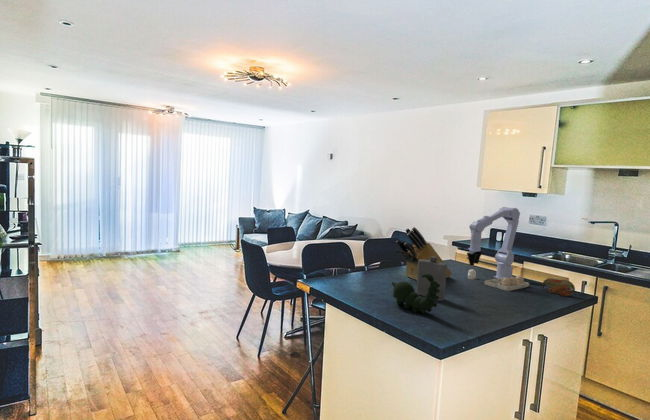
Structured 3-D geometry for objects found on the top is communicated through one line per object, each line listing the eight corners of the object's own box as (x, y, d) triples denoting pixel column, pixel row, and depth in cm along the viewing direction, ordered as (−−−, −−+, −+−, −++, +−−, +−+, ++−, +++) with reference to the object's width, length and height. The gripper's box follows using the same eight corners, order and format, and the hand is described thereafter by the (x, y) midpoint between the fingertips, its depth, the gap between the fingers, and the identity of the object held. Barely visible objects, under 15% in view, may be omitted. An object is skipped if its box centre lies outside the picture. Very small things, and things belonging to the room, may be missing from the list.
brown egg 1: (504, 286, 217) (505, 276, 217) (511, 288, 214) (512, 278, 213) (499, 287, 215) (500, 277, 214) (507, 289, 211) (508, 279, 211)
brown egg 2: (517, 284, 225) (518, 274, 225) (524, 286, 221) (525, 276, 221) (513, 284, 222) (513, 275, 222) (520, 286, 219) (521, 276, 218)
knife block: (392, 277, 228) (395, 225, 226) (439, 273, 243) (442, 225, 241) (403, 282, 218) (407, 227, 216) (451, 278, 233) (455, 227, 230)
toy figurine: (439, 318, 166) (396, 297, 186) (446, 276, 164) (401, 259, 183) (425, 322, 161) (382, 300, 180) (432, 279, 158) (387, 261, 177)
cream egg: (470, 277, 238) (471, 268, 238) (476, 279, 234) (477, 269, 234) (466, 278, 236) (466, 268, 235) (472, 280, 232) (473, 270, 232)
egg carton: (504, 281, 233) (505, 277, 233) (528, 287, 221) (529, 282, 221) (484, 285, 221) (484, 280, 221) (508, 292, 209) (508, 287, 209)
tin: (541, 292, 212) (543, 277, 211) (541, 291, 215) (542, 276, 214) (574, 297, 205) (575, 282, 204) (573, 296, 208) (575, 280, 207)
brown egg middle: (510, 285, 221) (511, 275, 221) (518, 287, 218) (519, 277, 217) (506, 286, 219) (507, 276, 218) (514, 288, 215) (514, 278, 215)
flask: (447, 299, 190) (450, 259, 188) (441, 301, 186) (444, 260, 184) (420, 292, 200) (423, 253, 199) (414, 294, 196) (416, 255, 195)
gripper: (472, 239, 239) (471, 261, 240) (464, 242, 227) (462, 264, 228) (484, 241, 234) (482, 263, 235) (476, 243, 223) (475, 266, 224)
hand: (473, 264), depth 232 cm, fingers open, 7 cm apart
